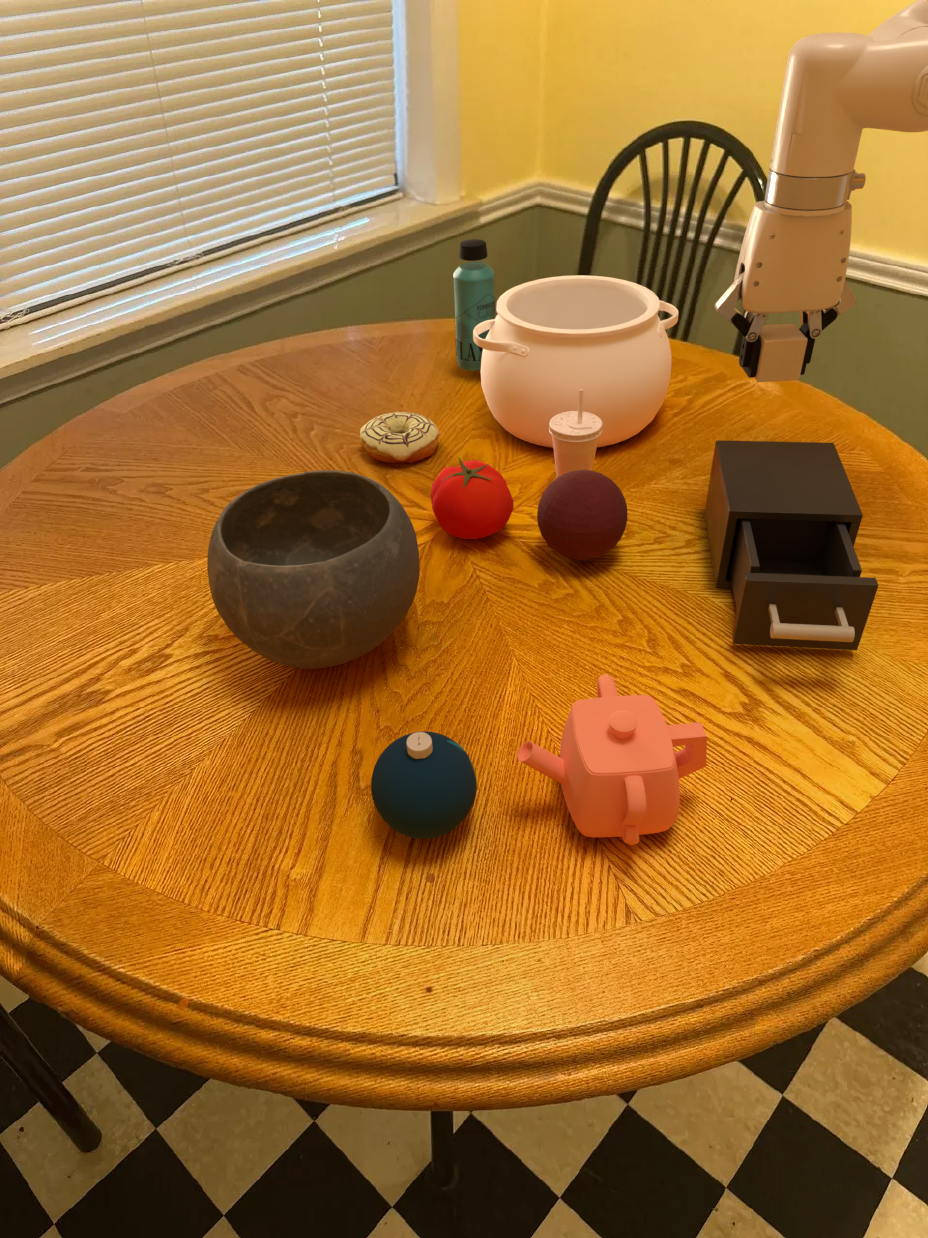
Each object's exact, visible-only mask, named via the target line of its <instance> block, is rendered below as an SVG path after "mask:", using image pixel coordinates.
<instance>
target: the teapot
mask: <svg viewBox="0 0 928 1238" xmlns="http://www.w3.org/2000/svg"><path fill="white" fill-rule="evenodd" d="M707 745H708V736H707V733H706V730H705V728H704V726H703V723H702V722H700V721H699V722H688V723H677V724H667V722H666V719H665V716H664V714H663V712H662V710H661V708H660V707H659V705H658V703H657V702H656V700H655V698H653V696H650V695H649V694H633V695H629V694H628V695H619V694H618V689H617V685H616V681H615V680H614V678H613V677H612V676H611V675H610V674H601V675H600V676H599V677H598V679H597V682H596V697H591V698H584V699H578V700H575V701H574V703H573V704H572V707H571V708H570V711H569V713H568V716H567V718H566V720H565V724H564V727H563V730H562V734H561V740H560V748H559V756H558V755H556V754H554V753H552V752H550V751H548V750H547V749H545V748H544V747H542V746H540V745H538V744H537V743H535V742H532V741H530V740H526V741H525V742H523V743H522V744H521V746H520V747H519V749H518V750H517V754H516V755H517V760H518V761H519V762H521V763H522V764H524V765H526V766H527V767H529V768H531V769H533V770H535V771H537V772H538V773H540V774H542V775H544V776H545V777H548V778H550V779H552V780H553V781H555V782H557V783H559V784H560V785H561V789H562V794H563V797H564V800H565V804H566V806H567V809H568V811H569V813H570V816H571V818H572V821H573V823H574V825H575V827H576V828H577V830H578V832H579V833H580V834H582V836H584V837H586V838H619V837H621V838H622V841H623V842H624V843H625V844H626V845H630V846H634V845H637V844H638V843H639V842H640V836H642V835H644V836H645V835H651V834H658V833H663V832H666V831H668V830H669V829H670V828H671V827H673V825H674V824H675V823H676V821H677V819H678V817H679V811H680V810H679V809H680V804H681V803H680V800H681V794H680V793H681V791H680V779H683V778H684V777H686V776H689V775H691V774H693V773H696V772H697V771H699V770H702V769H704V768H706V767H707V759H708V758H707V752H708V751H707V749H708V747H707ZM681 746H684V748H682V749H680V750H678V751H675V748H676V747H681Z"/></svg>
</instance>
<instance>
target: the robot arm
mask: <svg viewBox="0 0 928 1238" xmlns="http://www.w3.org/2000/svg"><path fill="white" fill-rule="evenodd" d="M781 88H782V90H781V96H780V101H779V106H778V107H779V108H778V114H777V119H776V125H775V132H774V137H773V143H772V150H771V156H770V162H769V169H768V176H767V181H766V187H765V194H764V199H763V200H759V201H756V202H755V203H754V205H753V208H752V211H751V213H750V216H749V218H748V222H747V226H746V229H745V232H744V236H743V240H742V243H741V246H740V251H739V255H738V259H737V263H736V268H735V273H734V279H733V282H732V283H731V284H730V286H729V287H728V288H727V289H726V291H725V292H724V293H723V294H722V296H721V297H720V298H719V299H718V300H717V301H716V302H715V303H714V309H715V311H716V312H717V313H718V315H720V316H721V317H722V318H724V319H725V320H727V322H729V323H731V324H732V325H733V326H734V327H735V328H736V329H737V331H738V332H740V334H741V335H742V337H741V344H740V351H739V356H738V357H739V358H738V364H739V367H740V368H741V369H742V370H743V371H744V372H745V374H746V376H747V377H748V378H749V379H751V378H754V377H755V376H756V373H757V367H758V362H759V356H760V350H761V342H760V340H759V334H760V331H761V329H762V326H763V325H765V321H766V319H767V317H768V314H781V313H786V314H787V313H800V319H801V325H800V328H799V327H798V329H799V330H800V331H801V332H802V333H803V335H804V336H805V337H806V338H807V339H808V340H807V345H806V350H805V354H804V359H803V364H802V369H801V373H800V376H804V375H805V373H806V369H807V365H809V364H810V363H811V362H812V356H813V351H814V347H815V342H816V340H817V339H819V338H820V337H821V335H822V334H823V331H824V330H825V329H827V327H829V326H830V325H831V324H832V323H833V322H834V321H835V320H836V319H837V318H838V317H839V316H841V315H843V314H844V313H846V312H847V311H849V310H850V309H852V308H853V307H855V306H856V304H857V298H856V295H855V294H854V292H853V290H852V288H851V287H850V285H849V283H848V280H847V279H846V277H847V271H848V265H849V258H850V252H851V251H850V250H851V240H852V239H851V238H852V226H853V225H852V222H853V221H852V220H853V206H852V204H851V203H850V202H849V200H850V198H851V193H852V192H853V191H856V190H861V189H864V186H865V185H866V177H867V176H866V174H865V173H862V172H861V173H859V172H856V169H855V165H856V161H857V156H858V152H859V147H860V142H861V139H862V133H863V130H864V129H875V130H884V131H891V132H892V131H894V132H899V133H900V132H901V133H924V132H928V0H915V1H913V2H911V3H910V4H909V5H907V6H906V7H904V8H902V9H901V10H899V11H898V12H896V13H894V14H893V15H891V16H889V18H887V19H885V20H884V21H883V22H881V23H880V24H879V25H877V26H876V27H875V28H874V29H873V30H872V31H871V32H870V33H869V34H865V33H864V34H863V33H856V32H821V33H815V34H809V35H806V36H803V37H801V38H799V39H798V40H796V41H795V42H794V44H793V45H792V47H791V48H790V50H789V53H788V54H787V61H786V65H785V71H784V76H783V82H782V87H781ZM739 301H741V302H742V308H743V310H744V311H745V313H744V315H743V314H742V312H741V311H740V310H738V309H737V308H735V305H736V304H737V303H738V302H739ZM754 379H755V378H754Z"/></svg>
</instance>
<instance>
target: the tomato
mask: <svg viewBox="0 0 928 1238" xmlns="http://www.w3.org/2000/svg"><path fill="white" fill-rule="evenodd" d="M457 459H458V462H459V464H460V465H459V466H446V467H444V468H443V469H442V470H441V471H440V473H439V474H438V475H437V477H436V478H435V479H434V481H433V482H432V483H431V489H430V494H429V495H430V501H431V509H432V512H433V514H434V517H435V519H436V522H437V524H438V526H439V528H441V529H442V530H443V531H444V532H445V533H446V534H448V535H450V536H451V537H455V538H460V539H464V540H478V539H482V538H485V537H488V536H491V535H494V534H496V533H497V532H499V531H501V530H502V529H503V528H504V527H505V526H506V524H507V523H508V522H509V520H510V519H511V516H512V514H513V512H514V507H515V506H514V499H513V496H512V493H511V491H510V488H509V486H508V485H507V481H506V479H505V478H504V476H503V475H502V474H501V473H500V472H499V471H498V470H497V469H495V468H494V467H493V466H491V465H490V464H489V463H485V462H482V461H481V460H477V459H472V460H466V461H464V462H463V461H462V460H461V458H460V457H458V456H457Z"/></svg>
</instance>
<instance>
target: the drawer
mask: <svg viewBox="0 0 928 1238" xmlns="http://www.w3.org/2000/svg"><path fill="white" fill-rule="evenodd" d="M854 547H855V546H854ZM854 547H853V545H852V542H851V539H850V536H849V534H848V531H847V528H846V526H845V523H844V522H831V521H800V520H769V519H738V518H737V523H736V528H735V533H734V539H733V544H732V549H731V555H730V560H729V570H730V575H731V581H732V587H733V589H732V591H733V598H734V604H735V609H736V614H735V619H734V625H733V629H732V633H731V638H732V644H733V645H742V646H743V645H744V646H761V647H762V646H763V647H783V648H784V647H785V648H801V649H802V648H804V649H819V650H820V649H824V650H839V651H840V650H842V651H858V649H859V646H860V643H861V640H862V637H863V634H864V631H865V627H866V624H867V623H868V618H869V616H870V612H871V610H872V607H873V604H874V601H875V598H876V594H877V592H878V588H879V583H878V580H877V578H876V577H867V576H865V577H863V576H861V575H862V572H863V568H862V566H861V563H860V560H859V559H858V555H857V553H856V550H855V548H854Z"/></svg>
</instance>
